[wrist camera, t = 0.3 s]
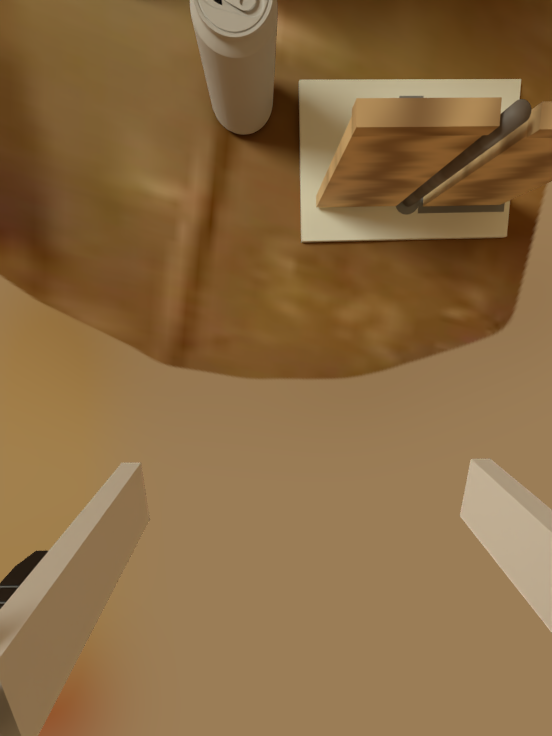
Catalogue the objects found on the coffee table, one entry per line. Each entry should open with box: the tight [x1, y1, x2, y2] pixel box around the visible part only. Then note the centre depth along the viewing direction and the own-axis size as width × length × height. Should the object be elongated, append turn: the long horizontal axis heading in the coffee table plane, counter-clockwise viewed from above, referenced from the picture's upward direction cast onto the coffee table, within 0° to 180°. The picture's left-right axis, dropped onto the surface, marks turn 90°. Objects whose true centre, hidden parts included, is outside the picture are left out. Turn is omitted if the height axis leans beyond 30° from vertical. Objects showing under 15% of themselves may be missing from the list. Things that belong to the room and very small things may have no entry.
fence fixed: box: [423, 102, 552, 206], centre depth 27 cm, size 9×2×15 cm, turn 92°
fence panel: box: [316, 97, 531, 208], centre depth 27 cm, size 11×2×15 cm, turn 92°
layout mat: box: [299, 79, 521, 242], centre depth 34 cm, size 16×24×1 cm, turn 92°
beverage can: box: [190, 0, 278, 135], centre depth 27 cm, size 6×6×12 cm
